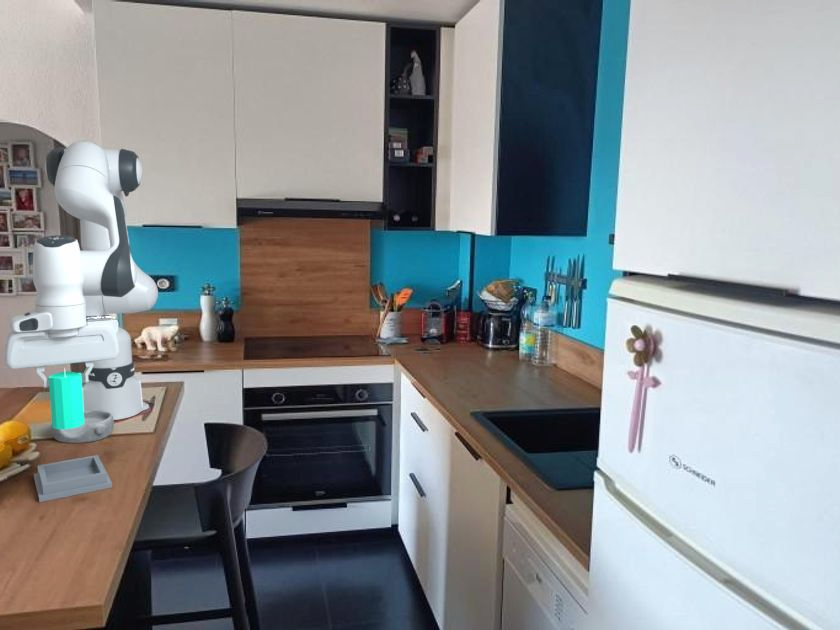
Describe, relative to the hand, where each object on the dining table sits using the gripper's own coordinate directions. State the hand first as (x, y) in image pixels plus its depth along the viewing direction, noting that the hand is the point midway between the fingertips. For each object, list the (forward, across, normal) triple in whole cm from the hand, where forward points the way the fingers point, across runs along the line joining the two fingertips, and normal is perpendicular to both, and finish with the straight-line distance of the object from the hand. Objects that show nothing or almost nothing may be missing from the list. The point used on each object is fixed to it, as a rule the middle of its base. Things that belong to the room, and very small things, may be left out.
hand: (66, 384), depth 132 cm
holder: (+21, 0, 0) cm, 21 cm away
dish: (+22, -6, -30) cm, 37 cm away
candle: (+8, 0, 0) cm, 9 cm away
